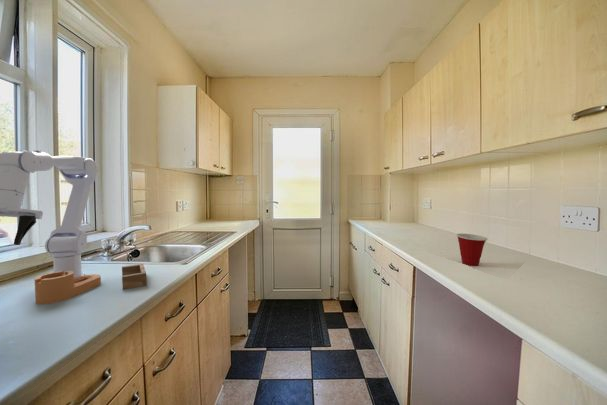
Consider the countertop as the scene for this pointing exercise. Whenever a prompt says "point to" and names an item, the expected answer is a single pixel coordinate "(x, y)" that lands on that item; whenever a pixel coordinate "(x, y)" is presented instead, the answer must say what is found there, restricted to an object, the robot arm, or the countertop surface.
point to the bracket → (62, 286)
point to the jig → (133, 276)
